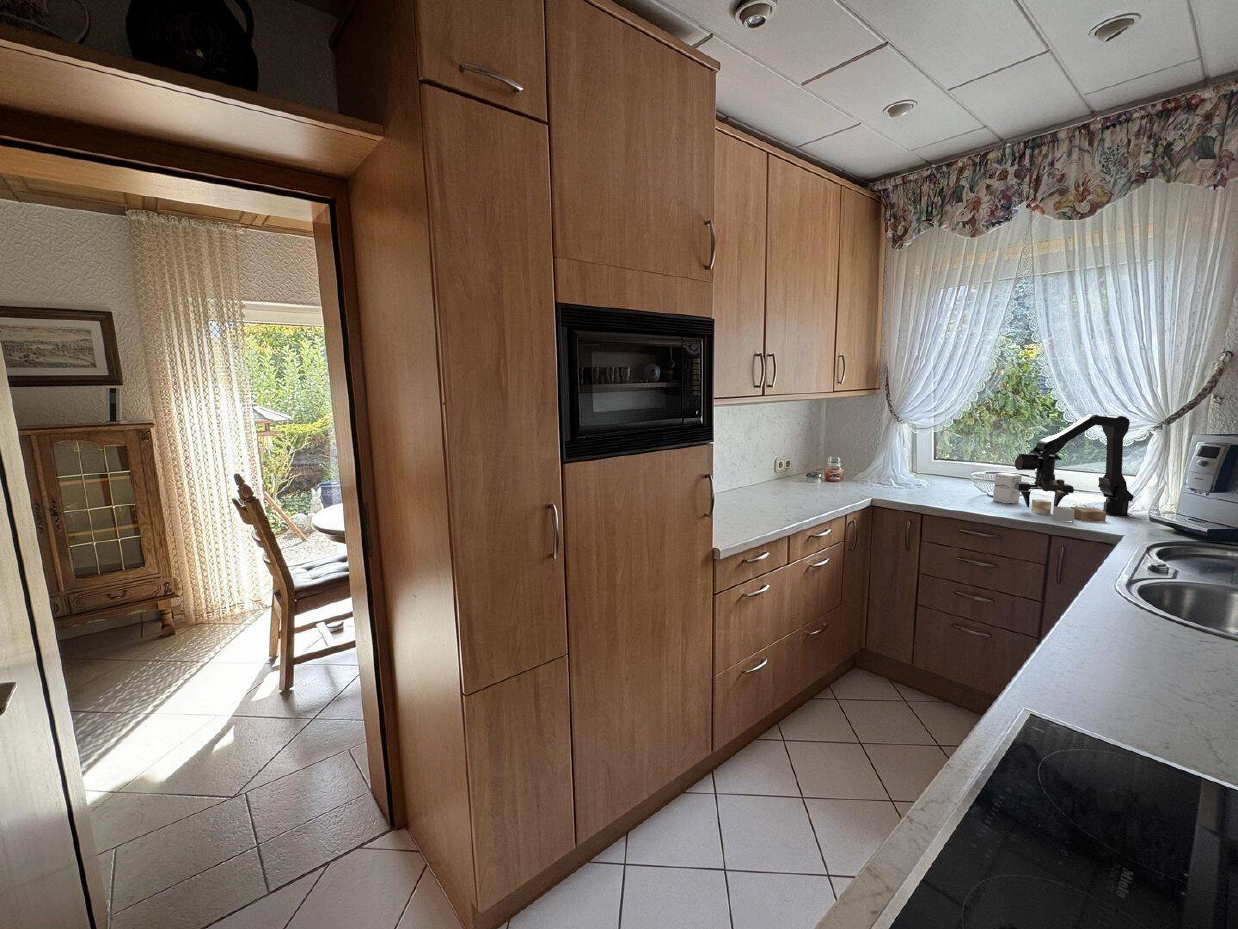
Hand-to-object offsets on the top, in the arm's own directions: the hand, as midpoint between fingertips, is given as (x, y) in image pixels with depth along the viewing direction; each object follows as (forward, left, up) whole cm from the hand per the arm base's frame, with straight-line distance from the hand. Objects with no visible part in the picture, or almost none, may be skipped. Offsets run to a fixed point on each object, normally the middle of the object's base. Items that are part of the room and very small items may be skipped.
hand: (1041, 508), depth 229 cm
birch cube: (0, 0, -2) cm, 2 cm away
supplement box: (+7, -19, -2) cm, 20 cm away
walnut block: (-13, +7, -2) cm, 15 cm away
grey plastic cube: (-3, +13, -2) cm, 13 cm away
